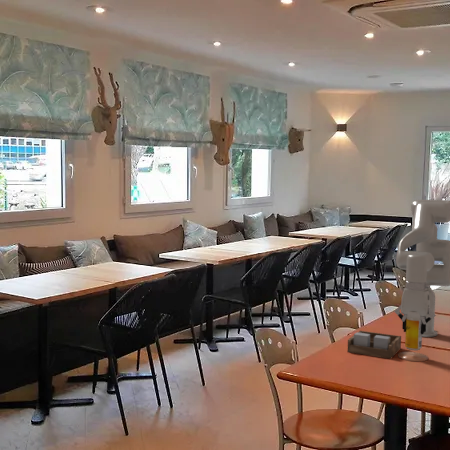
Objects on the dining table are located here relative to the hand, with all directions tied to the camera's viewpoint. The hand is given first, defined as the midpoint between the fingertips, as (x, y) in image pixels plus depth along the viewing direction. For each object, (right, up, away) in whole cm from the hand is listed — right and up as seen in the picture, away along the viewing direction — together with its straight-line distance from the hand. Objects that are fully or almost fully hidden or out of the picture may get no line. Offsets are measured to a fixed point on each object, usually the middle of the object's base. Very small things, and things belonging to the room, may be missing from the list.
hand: (413, 332), depth 240 cm
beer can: (0, -7, +1) cm, 7 cm away
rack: (-13, -9, +10) cm, 19 cm away
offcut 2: (-11, -10, +4) cm, 15 cm away
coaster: (0, -10, +1) cm, 10 cm away
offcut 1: (-19, -9, +8) cm, 22 cm away
